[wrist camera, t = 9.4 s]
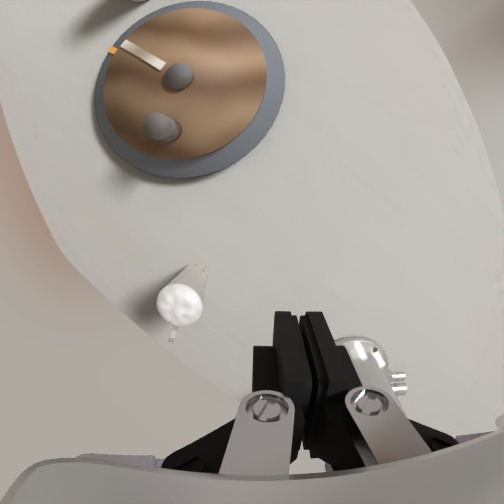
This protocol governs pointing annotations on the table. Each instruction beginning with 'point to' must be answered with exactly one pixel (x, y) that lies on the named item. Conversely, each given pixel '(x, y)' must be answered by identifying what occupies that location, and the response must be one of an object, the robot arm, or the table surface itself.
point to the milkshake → (183, 298)
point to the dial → (185, 84)
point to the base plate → (231, 150)
